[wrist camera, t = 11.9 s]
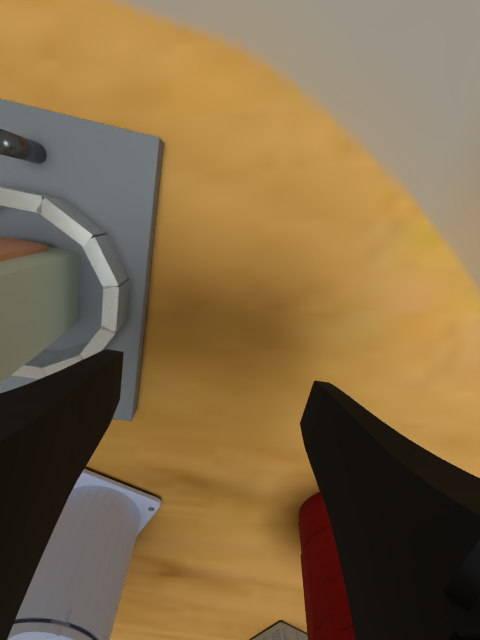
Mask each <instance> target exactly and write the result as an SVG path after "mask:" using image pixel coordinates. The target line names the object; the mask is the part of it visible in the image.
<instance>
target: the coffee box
mask: <svg viewBox="0 0 480 640" xmlns="http://www.w3.org/2000/svg"><path fill="white" fill-rule="evenodd" d="M252 640H308V635H307V634H305V633H303V632H301V631H299V630H297V629H295V628H293V627H291V626H288V625H287V624H285V623H283V622H279V623H278V624H276V625H274V626H273V627H271V628H270V629H268V630H266V631H265V632H263V633H262V634H260V635H258V636H257V637H255V638H253V639H252Z"/></svg>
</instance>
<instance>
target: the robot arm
mask: <svg viewBox="0 0 480 640" xmlns="http://www.w3.org/2000/svg"><path fill="white" fill-rule="evenodd" d="M123 355H124V352H122V351H116V350H109V349H105V350H103V351H100V352H98V353H96V354H94V355H92V356H89V357H87V358H85V359H83V360H81V361H79V362H77V363H75V364H73V365H71V366H68V367H66V368H64V369H62V370H60V371H57V372H55V373H53V374H50V375H48V376H46V377H43V378H41V379H38V380H36V381H34V382H31V383H29V384H26V385H23V386H21V387H18V388H15V389H12V390H9V391H6V392H3V393H0V640H109V639H110V636H111V632H112V628H113V624H114V620H115V616H116V613H117V609H118V605H119V601H120V597H121V593H122V590H123V586H124V582H125V578H126V574H127V571H128V567H129V563H130V559H131V555H132V551H133V548H134V544H135V540H136V537H137V536H138V534H139V533H140V532H141V531H142V529H143V528H144V527H145V525H146V524H147V523H148V521H149V520H150V519H151V518H152V516H153V515H154V514H155V512H156V511H157V510H158V508H159V507H160V504H161V500H160V499H159V498H157V497H154V496H152V495H149V494H147V493H144V492H142V491H139V490H137V489H134V488H132V487H129V486H127V485H124V484H122V483H119V482H117V481H114V480H112V479H109V478H107V477H104V476H102V475H99V474H97V473H94V472H92V471H89V470H87V469H84V468H85V466H86V465H87V463H88V461H89V460H90V458H91V456H92V454H93V453H94V451H95V449H96V448H97V446H98V444H99V442H100V441H101V439H102V437H103V435H104V434H105V432H106V430H107V428H108V427H109V425H110V423H111V420H112V418H113V416H114V413H115V411H116V408H117V406H118V403H119V401H120V393H121V381H122V368H123ZM300 426H301V431H302V437H303V441H304V446H305V449H306V452H307V455H308V458H309V461H310V464H311V467H312V470H313V473H314V475H315V478H316V481H317V484H318V487H319V490H320V492H321V495H322V498H323V501H324V504H325V507H326V510H327V513H328V516H329V520H330V524H331V528H332V532H333V536H334V540H335V544H336V548H337V552H338V557H339V561H340V566H341V570H342V575H343V579H344V584H345V589H346V594H347V599H348V604H349V609H350V614H351V620H352V625H353V630H354V636H355V640H480V478H478V477H476V476H474V475H472V474H470V473H468V472H466V471H464V470H462V469H460V468H458V467H456V466H454V465H452V464H450V463H449V462H447V461H445V460H443V459H441V458H439V457H438V456H436V455H434V454H432V453H430V452H429V451H427V450H425V449H424V448H422V447H421V446H419V445H417V444H416V443H414V442H412V441H411V440H409V439H407V438H406V437H404V436H403V435H401V434H400V433H398V432H397V431H395V430H394V429H393V428H391V427H390V426H388V425H387V424H385V423H384V422H383V421H381V420H380V419H378V418H377V417H376V416H374V415H373V414H372V413H370V412H369V411H368V410H366V409H365V408H364V407H362V406H361V405H360V404H358V403H357V402H356V401H354V400H353V399H352V398H350V397H349V396H348V395H347V394H345V393H344V392H342V391H341V390H340V389H338V388H337V387H335V386H334V385H332V384H330V383H328V382H321V381H314V383H313V386H312V389H311V392H310V395H309V398H308V401H307V404H306V407H305V410H304V413H303V416H302V419H301V422H300Z"/></svg>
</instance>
